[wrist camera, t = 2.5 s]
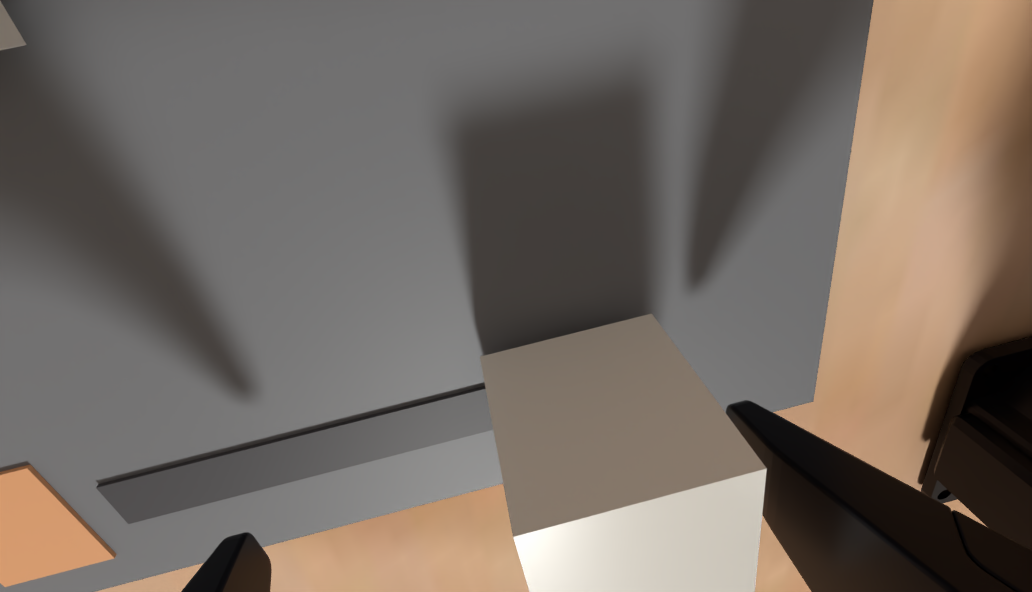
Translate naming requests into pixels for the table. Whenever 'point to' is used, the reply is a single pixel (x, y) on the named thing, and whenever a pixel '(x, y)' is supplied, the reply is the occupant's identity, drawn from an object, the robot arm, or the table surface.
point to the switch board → (378, 243)
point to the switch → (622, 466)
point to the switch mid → (8, 31)
